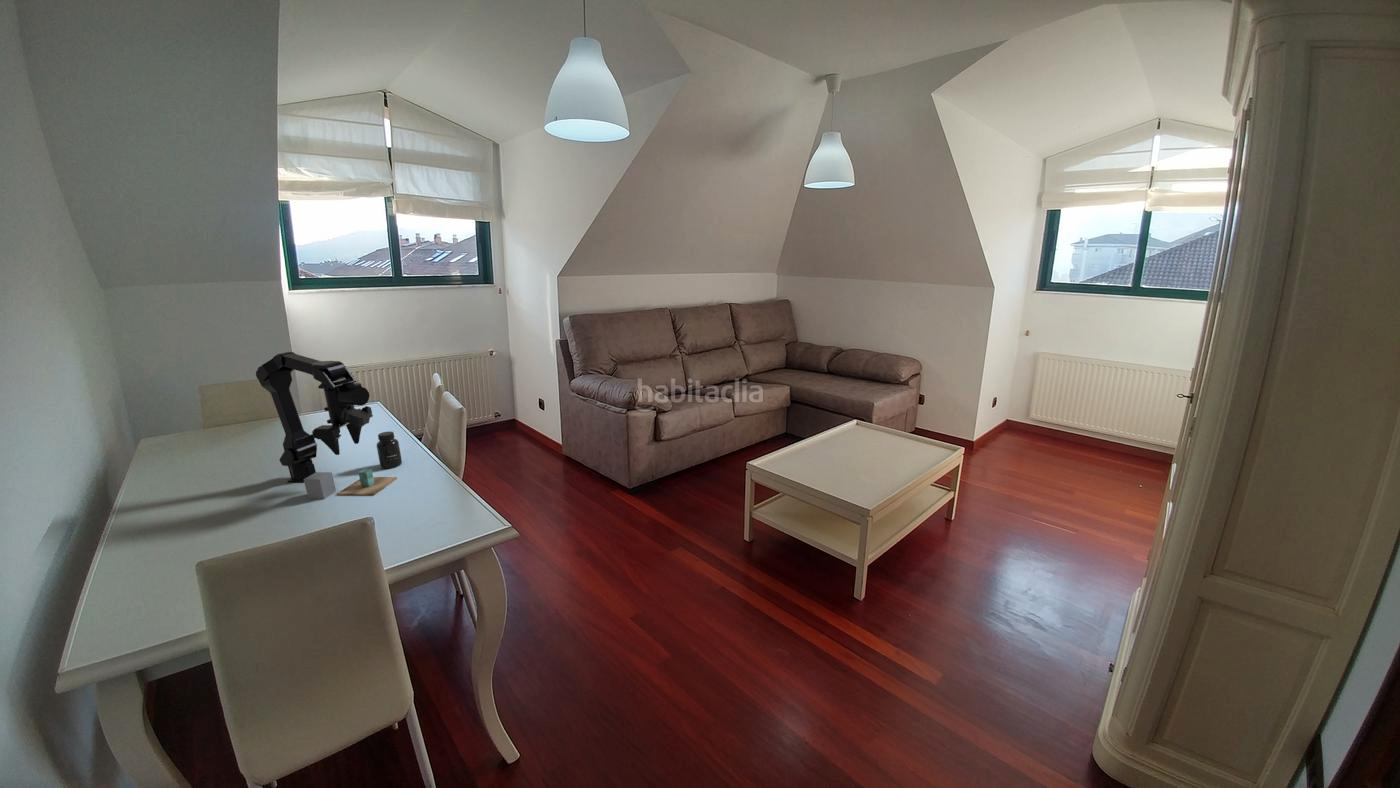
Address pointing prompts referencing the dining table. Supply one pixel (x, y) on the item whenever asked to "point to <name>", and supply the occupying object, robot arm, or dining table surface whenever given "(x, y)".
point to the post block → (367, 484)
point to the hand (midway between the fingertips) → (347, 449)
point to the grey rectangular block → (320, 485)
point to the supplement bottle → (388, 450)
